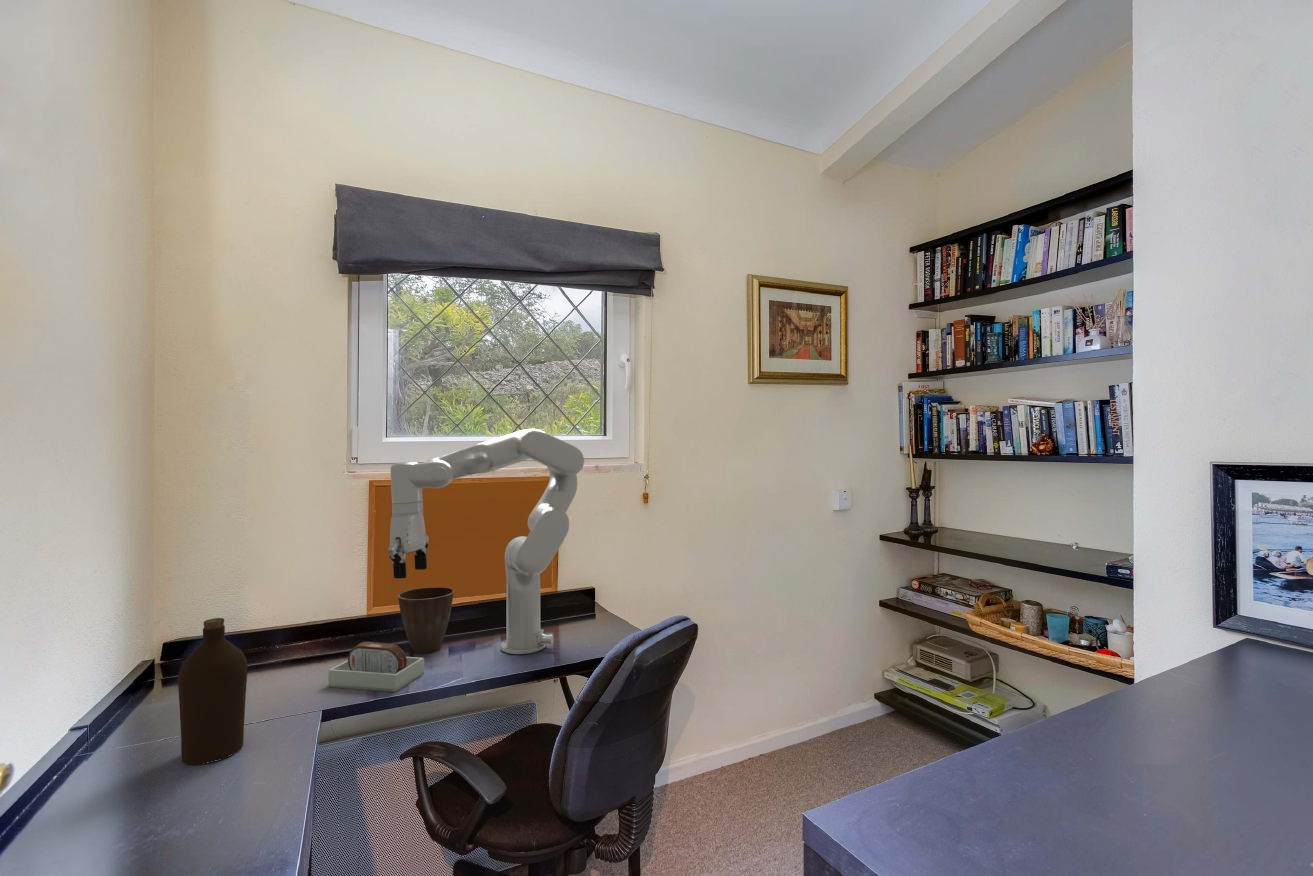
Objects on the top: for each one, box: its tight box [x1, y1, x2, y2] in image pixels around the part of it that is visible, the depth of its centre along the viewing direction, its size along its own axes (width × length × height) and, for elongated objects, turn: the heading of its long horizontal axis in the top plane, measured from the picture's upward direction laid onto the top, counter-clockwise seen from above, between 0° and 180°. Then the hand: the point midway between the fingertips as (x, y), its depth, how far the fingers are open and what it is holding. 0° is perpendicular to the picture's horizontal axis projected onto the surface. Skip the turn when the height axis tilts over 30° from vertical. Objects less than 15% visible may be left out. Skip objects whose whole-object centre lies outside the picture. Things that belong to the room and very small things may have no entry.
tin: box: [347, 641, 407, 674], centre depth 148 cm, size 15×3×8 cm, turn 78°
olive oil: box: [177, 617, 249, 766], centre depth 114 cm, size 11×11×25 cm
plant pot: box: [397, 586, 455, 654], centre depth 171 cm, size 15×15×16 cm
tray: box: [327, 656, 425, 693], centre depth 148 cm, size 18×12×4 cm, turn 79°
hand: (410, 573), depth 158 cm, fingers open, 9 cm apart
